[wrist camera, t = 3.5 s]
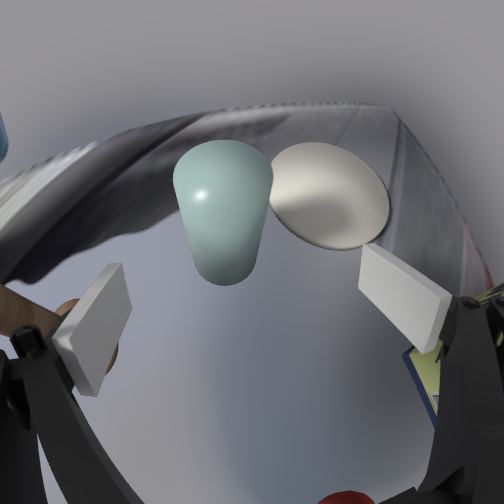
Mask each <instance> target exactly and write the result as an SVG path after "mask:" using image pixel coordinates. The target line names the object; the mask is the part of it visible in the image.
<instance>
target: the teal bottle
mask: <svg viewBox="0 0 504 504" xmlns="http://www.w3.org/2000/svg"><path fill="white" fill-rule="evenodd" d="M273 179H274V176H273V169H272V166H271V164H270V162H269V160H268V159H267V158H266V156H265V155H264V154H263V153H262V152H260V151H259V150H258V149H256V148H255V147H253V146H251V145H249V144H246V143H243V142H240V141H235V140H214V141H209V142H205V143H202V144H200V145H198V146H195V147H194V148H192V149H190V150H189V151H188V152H186V153H185V154H184V155H183V156H182V157H181V159H180V160H179V161H178V163H177V165H176V167H175V169H174V173H173V184H174V188H175V192H176V196H177V200H178V204H179V208H180V212H181V215H182V219H183V223H184V227H185V230H186V234H187V238H188V241H189V245H190V249H191V252H192V256H193V259H194V263H195V266H196V268H197V270H198V272H199V273H200V275H201V276H202V277H203V278H204V279H206V280H207V281H209V282H211V283H213V284H216V285H223V286H227V285H233V284H236V283H239V282H241V281H242V280H244V279H245V278H246V277H248V275H249V274H250V273H251V272H252V270H253V268H254V265H255V262H256V257H257V253H258V248H259V244H260V239H261V235H262V230H263V225H264V221H265V217H266V212H267V207H268V203H269V198H270V194H271V189H272V185H273Z"/></svg>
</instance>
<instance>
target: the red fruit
mask: <svg viewBox="0 0 504 504" xmlns="http://www.w3.org/2000/svg"><path fill="white" fill-rule="evenodd" d="M318 504H375V503H374V501H373V500H372V499H370V498H369V497H368V496H367V495H366V494H363V493H360V492H355V491H344V492H339V493H334V494H332V495H329V496H327V497H326V498H324V499H323V500H321V501H320V502H319V503H318Z"/></svg>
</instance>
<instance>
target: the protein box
mask: <svg viewBox="0 0 504 504" xmlns="http://www.w3.org/2000/svg"><path fill="white" fill-rule="evenodd" d="M493 295H497V296H499V295H500V296H503V297H504V282H502V283H501V284H499V285H497V286H495V287H493V288H492V289H490V290H488V291H486V292H484V293H482V294H480V295H478V296H476V297H474V299H476V300H477V301H479V302H480V303H481V305H482V306H488V304H489V301H490V298H491V296H493ZM502 340H503V334H502V332H501V335H500V337H499V339H498V341H497V344H498V345H499V346H500V344H501V342H502ZM442 344H443V342H442V341H441V340H440V339H439V338H438V341H437V344H436V346H435V349H434V350H432V351H430V352H427V353H424V354H422V353H421V352H420V351H419V350H418V349H417V348H416V347H415V346H414V345H413V346H412V347H411V348H410V349H408V350H407V351H406V352H405V353H404V354H403V355H402V358H403V360H404V362H405V364H406V366H407V368H408V370H409V372H410V374H411V376H412V378H413V380H414V382H415V385H416V387H417V389H418V391H419V393H420V396H421V398H422V400H423V402H424V405H425V407H426V409H427V412H428V414H429V417H430V419H431V421H432V424H433V426H434V429H435V426H436V418H437V409H438V398H439V384H440V359H439V360H438V362H437V363H435V361H436V358H437V356H438V354H439V351H440V349H441V346H442Z"/></svg>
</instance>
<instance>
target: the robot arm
mask: <svg viewBox="0 0 504 504" xmlns="http://www.w3.org/2000/svg"><path fill="white" fill-rule="evenodd" d="M8 145H9V143H8V137H7V133H6V130H5V126H4V123H3V120H2V117H1V113H0V163H1V162H2V161H3V160H4V158H5V157H6V154H7V151H8ZM358 288H359V289H360V290H361V291H362V292H363V293H364V294H365V295H366V296H367V297H368V298H369V299H370V300H371V301H372V302H373V303H374V304H375V305H376V306H377V307H378V308H379V309H380V310H381V311H382V312H383V313H384V314H385V315H386V316H387V318H388V319H390V321H392V323H393V324H394V325H395V326H396V327H397V328H399V330H400V331H401V332H402V333H403V334H404V335H405V336H406V337H407V338H408V339H409V340H410V341H411V343H412V344H413V345H414V346H415V347H416V348H417V349H418V350H419V351H420V352H421V353H422V354H424V353H427V352H430V351H432V350H434V349H435V346H436V344H437V341H438V338H439V339H440V340H441V341H442V342H443V344H442V346H441V349H440V351H439V354H438V356H437V358H436V361H435V363H437V362H438V360H439V359H440V384H439V398H438V409H437V418H436V426H435V433H434V439H433V445H432V450H431V456H430V461H429V465H428V469H427V473H426V476H425V478H424V480H423V481H422V483H421V484H420V486H419V488H418V490H417V491H416V489H415V488H414V487H412V488H410V489H408V490H406V491H404V492H402V493H400V494H398V495H396V496H394V497H392V498H390V499H387V500H385V501H383V502H381V503H379V504H504V297H503V296H500V295H499V296H497V295H493V296H491V298H490V301H489V304H488V306H482V305H481V303H480V302H479V301H477V300H476V299H474V298H471V297H465V296H463V297H460V298H458V299H457V298H456V297H455V296H453V295H452V294H450V293H449V292H448V291H446V290H445V289H443V288H442V287H441V286H439V285H438V284H436V283H435V282H433V281H432V280H430V279H429V278H427V277H426V276H424V275H423V274H421V273H420V272H418V271H417V270H415V269H414V268H412V267H411V266H409V265H408V264H406V263H405V262H403V261H402V260H400V259H399V258H397V257H395V256H394V255H392V254H391V253H389V252H388V251H386V250H384V249H383V248H381V247H379V246H378V245H376V244H375V243H370V244H363V250H362V260H361V268H360V276H359V284H358ZM131 310H132V306H131V302H130V298H129V294H128V290H127V285H126V281H125V276H124V272H123V267H122V263H115V264H108V266H107V267H106V268H105V269H104V270H103V271H102V273H101V274H100V275H99V276H98V278H97V279H96V280H95V281H94V282H93V284H92V285H91V286H90V287H89V289H88V290H87V291H86V292H85V294H84V295H83V296H82V297H81V299H80V300H79V301H78V303H77V304H76V305H75V307H74V308H73V309H70V310H68V311H67V312H65V313H64V314H63V315H62V316H61V317H60V319H59V320H58V323H56V324H55V325H54V328H52V329H51V331H50V332H49V334H48V335H47V336H46V338H45V339H44V338H43V336H42V334H41V331H40V329H39V327H38V326H37V325H35V324H26V325H23V326H21V327H19V328H17V329H16V330H15V331H14V332H13V333H12V334H11V336H10V341H11V343H12V345H13V347H14V349H15V351H16V353H17V355H18V357H19V358H17V359H11V360H9V359H8V357H7V355H6V353H5V352H4V350H1V349H0V504H48V502H47V498H46V494H45V489H44V484H43V479H42V472H41V466H40V458H39V451H38V440H37V434H38V437H39V440H40V442H41V445H42V448H43V451H44V453H45V456H46V458H47V461H48V463H49V465H50V468H51V470H52V472H53V475H54V477H55V479H56V481H57V483H58V485H59V487H60V489H61V491H62V493H63V495H64V497H65V499H66V501H67V503H68V504H144V503H143V501H142V500H141V499H140V498H139V497H138V495H137V494H136V493H135V492H134V491H133V489H132V488H131V487H130V485H129V484H128V483H127V482H126V480H125V479H124V478H123V476H122V475H121V473H120V472H119V471H118V469H117V468H116V466H115V465H114V464H113V462H112V461H111V459H110V458H109V456H108V455H107V453H106V452H105V450H104V449H103V447H102V445H101V444H100V442H99V441H98V439H97V437H96V436H95V434H94V432H93V430H92V429H91V427H90V425H89V424H88V422H87V420H86V418H85V416H84V414H83V412H82V411H81V408H80V407H79V405H78V403H77V401H76V399H75V397H74V395H73V393H72V389H73V387H74V385H75V386H76V388H77V389H78V391H79V393H80V395H84V396H93V397H97V396H98V393H99V390H100V387H101V384H102V382H103V379H104V376H105V374H106V371H107V368H108V366H109V363H110V361H111V358H112V355H113V353H114V351H115V348H116V346H117V343H118V341H119V338H120V336H121V334H122V331H123V329H124V326H125V324H126V322H127V320H128V317H129V315H130V313H131ZM501 332H502V334H503V340H502V342H501V344H500V346H499V345H498V344H497V341H498V339H499V337H500V335H501Z"/></svg>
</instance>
